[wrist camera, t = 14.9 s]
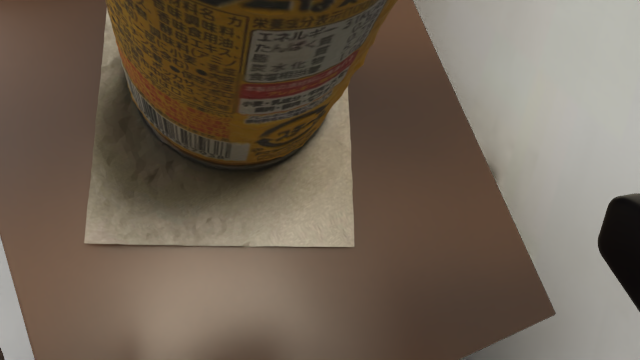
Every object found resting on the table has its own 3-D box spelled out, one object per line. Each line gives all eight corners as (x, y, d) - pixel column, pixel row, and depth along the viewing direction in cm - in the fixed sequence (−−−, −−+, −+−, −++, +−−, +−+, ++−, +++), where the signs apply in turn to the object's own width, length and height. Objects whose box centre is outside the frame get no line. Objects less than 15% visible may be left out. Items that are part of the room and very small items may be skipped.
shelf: (514, 316, 19) (658, 308, 13) (101, 506, 16) (34, 618, 9) (324, -111, 23) (369, -278, 16) (-56, -43, 19) (-183, -227, 13)
